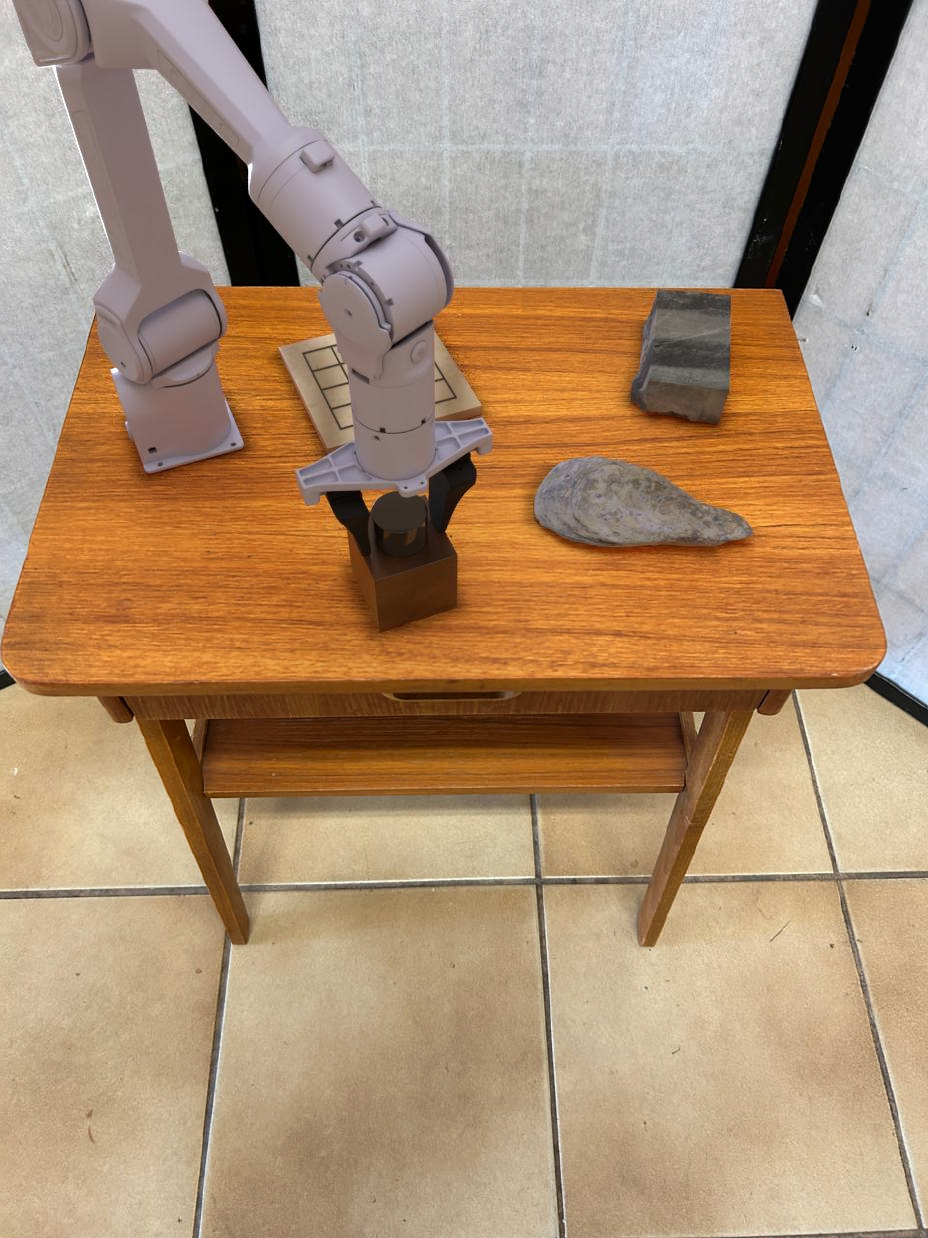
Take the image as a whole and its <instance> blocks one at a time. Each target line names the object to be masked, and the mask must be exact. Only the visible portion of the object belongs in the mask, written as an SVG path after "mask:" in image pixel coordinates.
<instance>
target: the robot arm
mask: <svg viewBox="0 0 928 1238" xmlns="http://www.w3.org/2000/svg"><path fill="white" fill-rule="evenodd" d="M12 4H13V7H14V9H15V13H16V16H17V19H18V21H19V25H20V27H21V30H22V34H23V37H24V40H25V43H26V45H27V48H28V50H29V51H30V54H31V57H32V60H33V62H34V64H35V66H36V67H37V68H51V67H52V69H53V72H54V76H55V79H56V81H57V85H58V89H59V91H60V94H61V98H62V102H63V104H64V107H65V110H66V113H67V116H68V120H69V124H70V126H71V129H72V132H73V135H74V138H75V143H76V145H77V149H78V151H79V154H80V158H81V160H82V165H83V167H84V170H85V173H86V176H87V179H88V182H89V183H88V184H89V185H90V189H91V192H92V195H93V199H94V201H95V204H96V207H97V210H98V214H99V217H100V220H101V224H102V227H103V230H104V233H105V236H106V238H107V242H108V245H109V248H110V251H111V254H112V259H113V263H112V265H111V267H110V269H109V270H108V272H107V274H106V275H105V276H104V278H103V280H102V281H101V283H100V285H99V286H98V288H97V289H96V291H95V293H94V294H93V297H92V303H93V306H94V311H95V315H96V320H97V329H96V330H97V331H96V332H97V337H98V340H99V343H100V345H101V348H102V349H103V351H104V354H105V355H106V357H107V358H108V360H109V361H110V362H111V364H112V365H113V366H114V367H113V368H111V369H109V371H110V375H111V378H112V381H113V384H114V387H115V390H116V392H117V393H116V394H117V396H118V399H119V403H120V405H121V407H122V410H123V415H124V416H125V417H124V418H125V419H126V421H125V422H124V425H125V429H126V431H127V435H128V438H129V441H130V442H134V444H135V447H136V449H137V452H138V455H139V458H140V461H141V463H142V467H143V470H144V472H145V473H146V474H154V473H155V474H156V473H158V472H159V473H160V472H162V471H165V470H170V469H173V468H177V467H180V466H183V465H187V464H191V463H195V462H199V461H203V460H206V459H210V458H213V457H217V456H220V455H221V456H222V455H225V454H227V453H231V452H235V451H239V450H241V449H243V448H244V447H245V443H244V440H243V437H242V435H241V432H240V430H239V427H238V425H237V423H236V420H235V418H234V415H233V413H232V410H231V408H230V406H229V403H228V400H227V398H226V396H225V393H224V389H223V385H222V382H221V378H220V373H219V370H218V369H219V368H218V366H217V361H216V357H215V356H216V355H217V354H218V353H219V352H221V347H220V343H219V339H221V338H223V337H225V335H226V334H227V332H228V315H227V310H226V307H225V305H224V302H223V300H222V298H221V297H220V295H219V293H218V291H217V289H216V286H215V285H214V282H213V279H212V275H211V272H210V271H209V270H208V269H207V268H206V266H204V265H203V264H202V263H201V262H200V261H199V260H198V259H196V258H195V257H194V256H192V255H190V254H188V253H186V252H183V251H181V250H180V251H179V247H178V244H177V239H176V236H175V232H174V228H173V227H174V226H173V224H172V220H171V216H170V215H171V214H170V212H169V208H168V204H167V200H166V196H165V192H164V188H163V185H162V179H161V176H160V172H159V169H158V165H157V161H156V156H155V152H154V149H153V144H152V141H151V136H150V133H149V129H148V125H147V122H146V118H145V114H144V110H143V106H142V101H141V98H140V95H139V89H138V86H137V83H136V78H135V74H134V70H146V71H147V70H148V71H149V70H150V71H151V70H152V71H157V73H158V74H159V75H160V76H161V77H162V78H163V79H165V81H166V82H167V83H168V84H169V85H170V86H171V87H172V89H174V90H175V92H176V93H177V94H179V96H181V98H182V99H183V100H185V102H186V103H187V104H188V105H189V106H190V107H191V108H192V109H193V110H194V111H195V112H196V113H197V114H198V115H199V116H200V117H201V119H202V120H204V122H205V123H206V124H207V125H208V126H209V127H210V128H211V129H212V130H213V131H214V132H215V133H216V134H217V135H218V136H219V137H220V138H221V139H222V140H223V141H224V143H226V144H227V146H228V147H229V148H230V149H231V150H232V151H233V152H234V153H235V154H236V155H237V156H238V157H239V158H240V159H241V161H243V162H244V163H245V164H246V166H247V169H248V195H249V197H250V199H251V201H252V202H253V203H254V205H255V206H256V207H257V208H258V209H259V211H260V212H261V213H262V214H263V215H264V217H265V218H266V220H267V221H268V222H269V223H270V224H271V225H272V227H273V228H274V229H275V230H276V232H277V233H278V234H279V235H280V236H281V238H282V239H283V240H284V241H285V243H286V244H287V245H288V246H289V248H291V250H292V251H293V252H294V254H295V255H296V256H297V257H298V259H299V260H300V261H301V262H302V263H303V265H304V266H305V267H306V268H307V269H308V270H309V272H310V273H311V274H312V276H313V277H314V278H315V279H316V280H317V282H318V283H319V284H320V285H321V286H322V287H321V289H317V298H318V302H319V305H320V307H321V310H322V313H323V315H324V318H325V320H327V322H328V324H329V327H330V328H331V330H332V332H333V333H334V335H335V338H336V343H337V351H338V353H339V354H340V355H341V359H342V361H343V362H344V363H345V364H347V370H348V380H349V389H350V399H351V409H352V418H353V427H354V436H355V439H353V440H351V441H350V442H348V443H347V444H345V445H343V446H342V447H340V448H338V449H337V450H335V451H333V452H332V453H330V454H328V455H327V454H326V455H325V456H324V457H322V458H320V459H318V460H317V461H315V462H313V463H311V464H309V465H306V466H303V467H300V468H297V469H295V477H296V483H297V487H298V490H299V492H300V495H301V498H302V500H303V502H304V504H305V506H306V507H311V506H314V505H318V504H319V503H320V502H321V496H325V498H326V500H327V502H328V504H329V506H330V510H331V511H332V513H333V516H334V517H335V518H336V520H337V521H338V523H339V524H340V525H342V526H343V527H345V528H346V530H347V529H348V530H349V531H350V532H351V533H352V535H353V537H354V540H355V542H356V545H357V547H358V549H359V551H360V553H361V555H362V556H367V555H370V554H371V546H370V540H369V535H368V523H369V517H370V512H369V511H370V510H369V508H368V506H367V504H366V502H365V500H364V498H363V492H362V491H383V490H385V491H386V490H389V491H390V490H395V491H398V492H399V494H400V495H401V496H402V497H405V498H407V497H412V496H415V495H418V496H419V495H423V494H425V493H427V491H428V497H427V499H428V506H429V513H430V517H431V519H432V521H433V522H434V524H435V526H436V528H437V530H438V532H439V533H441V532H444V531H445V532H447V529H448V527H449V525H450V522H451V519H452V517H453V514H454V512H455V510H456V508H457V506H458V504H459V502H460V501H461V500H462V499H463V497H464V496H465V494H467V493H468V491H469V490H471V488H473V486H475V485H476V484H477V483H476V482H477V478H478V475H477V474H478V470H477V468H476V466H475V464H474V463H473V461H472V453H471V452H476V454H477V455H478V456H484V455H488V454H491V453H493V441H494V440H493V439H494V433H493V431H492V430H491V428H490V427H489V425H488V423H487V422H486V420H485V418H484V417H483V416H481V417H478V418H473V419H464V420H459V421H439V422H435V354H434V330H435V319H433V318H435V317H436V316H437V315H439V314H440V313H441V312H442V311H443V310H444V309H446V308H447V307H448V306H449V305H450V303H451V302H452V301H453V300H452V299H453V298H454V292H455V280H454V274H453V270H452V266H451V264H450V261H449V259H448V257H447V255H446V253H445V251H444V250H443V248H442V247H441V245H440V244H439V243H438V241H437V239H436V237H435V236H434V234H433V233H432V231H430V230H429V229H428V228H426V227H425V226H424V225H423V224H420V223H419V222H417V221H414V220H412V219H408V218H405V217H403V215H401V213H399V211H398V210H397V209H393V208H392V207H389V208H387V209H386V208H385V209H384V208H383V207H382V205H381V204H380V203H379V202H378V200H377V199H376V198H375V197H374V196H373V195H372V193H371V192H370V190H369V189H368V188H367V187H366V186H365V184H364V183H363V182H362V181H361V180H360V178H359V177H358V175H356V173H355V172H354V171H353V169H352V168H351V167H350V166H349V165H348V163H347V162H346V161H345V160H344V158H343V157H342V156H341V154H340V153H339V152H338V151H337V149H336V148H335V147H334V146H333V145H332V143H330V141H329V139H327V137H326V136H325V135H324V133H323V132H322V131H320V130H318V129H315V128H312V127H304V126H297V125H292V124H291V122H290V121H289V119H288V117H286V115H285V113H284V112H283V111H282V110H281V108H280V107H279V105H278V103H277V102H276V101H275V98H273V96H272V94H270V91H269V90H268V89H267V87H266V86H265V85H264V83H263V82H262V80H261V79H260V77H259V76H258V74H257V73H256V71H255V70H254V69H253V67H252V66H251V64H250V63H249V62H248V60H247V59H246V57H245V55H244V54H243V53H242V51H241V50H240V49H239V47H238V45H237V44H236V42H235V41H234V39H233V38H232V37H231V35H230V34H229V32H228V31H227V30H226V28H225V27H224V25H223V24H222V22H221V21H220V19H219V17H218V16H217V15H216V14H215V12H214V10H213V9H212V8H211V6H210V5H209V0H12Z"/></svg>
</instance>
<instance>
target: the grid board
mask: <svg viewBox="0 0 928 1238" xmlns="http://www.w3.org/2000/svg"><path fill="white" fill-rule="evenodd" d="M278 351H279V356H280V359H281V360H282V362H283V365H284V367H285V369H286V371H287V373H288V376H289V377H290V379H291V381H292V383H293V386H294V388H295V391H296V392H297V394H298V396H299V398H300V400H301V402H302V404H303V406H304V409H305V411H306V412H307V416H308V418H309V419H310V421H311V423H312V426H313V428H314V430H315V432H316V434H317V436H318V439H319V440H320V442H321V444H322V447H323V450H324V451H325V453H326V456H327V455H328V454H330V453H332V452H333V451H335V450H337V449H338V448H340V447H342V446H343V445H345V444H347V443H348V442H350V441H351V440H353V439H355V436H354V427H353V418H352V409H351V399H350V389H349V380H348V370H347V364H345V363H344V362H343V361H342V359H341V355H340V354H339V353H338V351H337V343H336V338H335V335H334V332H333V333H329V334H325V335H321V336H317V337H313V338H309V339H305V340H301V341H297V342H293V343H289V344H285V345H281V346H278ZM434 354H435V422H439V421H464V420H468V419H469V418H473V417H477V416H481V415H482V414H483V404H482V403H481V401H480V400H479V398H478V397H477V395H476V393H475V392H474V390H473V389H472V387H471V385H470V384H469V383H468V381H467V379H466V378H465V376H464V374H463V372H462V371H461V369H460V368H459V366H458V365H457V363H456V361H455V360H454V359H453V356H452V355H451V354H450V352H449V351H448V349H447V347H446V345H445V344H444V343H443V341H442V340H441V338H440V337H439V334H438V333H437V332H436V329H434Z"/></svg>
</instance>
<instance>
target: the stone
mask: <svg viewBox="0 0 928 1238" xmlns="http://www.w3.org/2000/svg"><path fill="white" fill-rule="evenodd" d="M533 507H534V510H533V514H534V517H535V520H536V521H537V522H538V523H539V524H540V526H542V527H543V528H547V529H549V530H551V531H552V532H554V534H556V535H558V536H560V537H561V538H564V539H566V540H568V541H571V542H574V543H581V544H585V545H592V546H596V547H597V546H598V547H604V548H624V547H625V548H626V547H630V548H631V547H640V546H655V547H656V546H660V545H661V546H662V545H663V546H664V545H668V546H680V547H681V546H683V547H684V546H685V547H686V546H687V547H718V546H721V545H723V544H726V543H729V542H733V541H737V540H738V541H741V540H745V539H747V538H749V537H752V535H753V534H754V533H755V530H754V529H753V527H752V526H751V525H750V524H749V522H748V521H747V520H746V519H745V518H744V517H743V516H742V515H740V514H738V513H736V512H733V511H729V510H728V509H725V508H721V507H715V506H713V505H709V504H707V503H705V502H703V501H700V500H698V499H697V498H695V497H693V496H692V495H690V494H689V493H688V492H687V491H685V490H683V489H682V488H681V487H679V486H678V485H676V484H675V483H673V482H671V481H670V480H669V479H667V478H666V477H665V476H663V475H661V474H660V473H658V472H657V471H656V470H655V469H651V468H647V467H643V466H640V465H638V464H634V463H629V462H627V461H624V460H622V459H617V458H614V459H613V458H607V457H603V456H599V455H593V456H584V457H581V458H578V457H576V458H571V459H568V460H564V461H561V462H559V463H558V464H556V465H555V466H554V467H553V468H551V470H550V471H549V472H548V473H547V474H546V476H545V477H544V478H543V480H542V481H541V483H540V484H539V485H538V488H537V490H536V493H535V496H534V501H533Z"/></svg>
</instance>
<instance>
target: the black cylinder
mask: <svg viewBox="0 0 928 1238" xmlns="http://www.w3.org/2000/svg"><path fill="white" fill-rule="evenodd" d="M419 496H420V495H419V494H418V495H415V496H412V497H407V498H405V497H402V496H401V495H400V494H399V492H398V490H394V491H393V490H392V491H389V492H386V493H383V494H382V495H381V496H379V497H378V498H377V499H375V501H374V502H373V504H372V505H371V509H370V511H371V519H372V530H373V539H374V543H375V545H376V547H377V548H378V549H379V550H380V551H381V552H383V553H384V554H386V555H389V556H392V557H408V556H411V555H414V554H416V553H418V552H419V551H421V550H422V549H423V548H424V546H425V545H426V543H427V541H428V509H427V505H426V503H425V502H424V501H423V499H422V498H420V497H419Z"/></svg>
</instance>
